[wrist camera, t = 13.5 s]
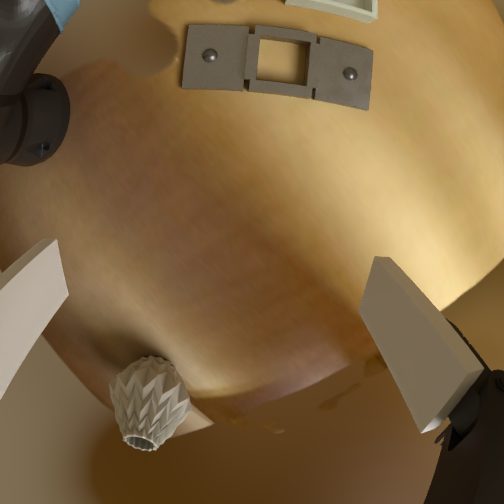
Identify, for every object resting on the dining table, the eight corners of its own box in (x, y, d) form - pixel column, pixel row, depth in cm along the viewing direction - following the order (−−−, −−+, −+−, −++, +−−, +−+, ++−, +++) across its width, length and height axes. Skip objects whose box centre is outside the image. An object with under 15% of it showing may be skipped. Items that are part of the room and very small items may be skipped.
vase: (190, 342, 52) (179, 426, 35) (197, 394, 59) (192, 465, 42) (111, 336, 51) (80, 410, 34) (129, 388, 58) (111, 454, 41)
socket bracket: (183, 89, 34) (180, 87, 32) (189, 26, 30) (187, 22, 28) (365, 110, 36) (371, 110, 34) (370, 51, 32) (376, 49, 30)
